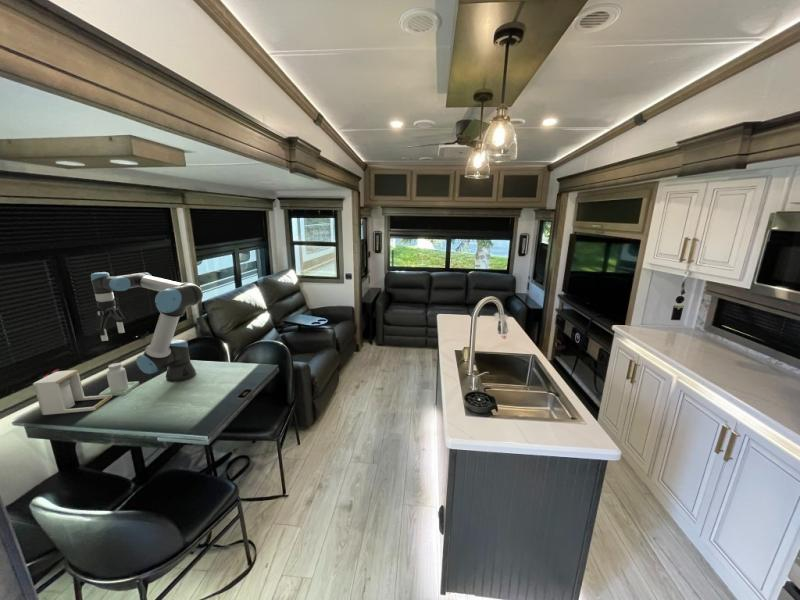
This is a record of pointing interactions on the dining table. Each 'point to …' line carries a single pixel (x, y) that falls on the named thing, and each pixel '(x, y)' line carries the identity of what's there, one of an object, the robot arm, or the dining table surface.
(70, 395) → the dispenser
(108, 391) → the tray
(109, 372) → the pill bottle
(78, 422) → the dining table surface
